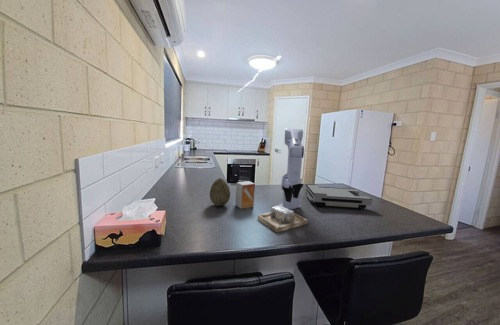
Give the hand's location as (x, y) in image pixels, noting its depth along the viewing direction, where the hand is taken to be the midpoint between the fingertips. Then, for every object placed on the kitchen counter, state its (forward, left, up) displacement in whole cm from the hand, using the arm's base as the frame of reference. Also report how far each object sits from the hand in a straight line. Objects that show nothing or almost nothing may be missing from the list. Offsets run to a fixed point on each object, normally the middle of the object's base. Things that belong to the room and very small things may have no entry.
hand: (291, 199), depth 98 cm
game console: (-41, -5, -10) cm, 43 cm away
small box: (+12, -23, -10) cm, 28 cm away
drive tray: (+6, +1, -9) cm, 11 cm away
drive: (+6, +1, -8) cm, 10 cm away
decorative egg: (+24, -29, -10) cm, 39 cm away
